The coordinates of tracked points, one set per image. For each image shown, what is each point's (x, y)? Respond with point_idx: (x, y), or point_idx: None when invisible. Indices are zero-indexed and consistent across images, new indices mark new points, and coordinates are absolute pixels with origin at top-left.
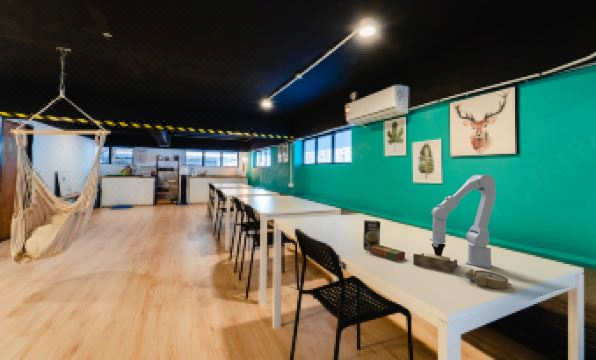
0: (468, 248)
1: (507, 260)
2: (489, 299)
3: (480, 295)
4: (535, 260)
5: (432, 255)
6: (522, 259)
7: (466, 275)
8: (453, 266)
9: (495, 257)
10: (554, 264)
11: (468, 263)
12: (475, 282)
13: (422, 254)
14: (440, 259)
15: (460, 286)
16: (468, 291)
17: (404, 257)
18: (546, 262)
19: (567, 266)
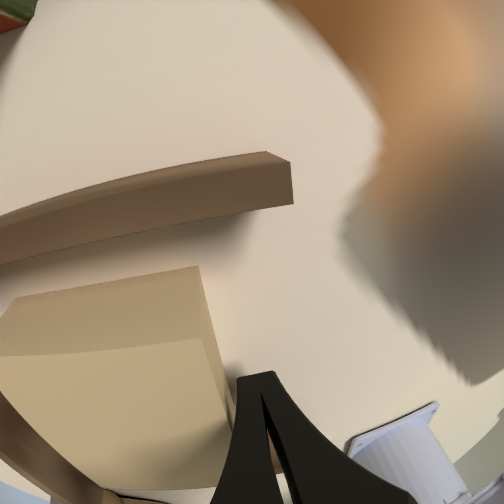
0: (421, 499)
1: (474, 421)
2: (25, 491)
3: (20, 484)
4: (486, 427)
5: (155, 409)
6: (489, 419)
7: (51, 502)
8: (99, 489)
9: (498, 393)
10: (464, 450)
11: (351, 447)
12: None
13: (191, 211)
14: (37, 484)
15: None
16: (5, 471)
17: (8, 25)
18: (475, 440)
19: (456, 459)
